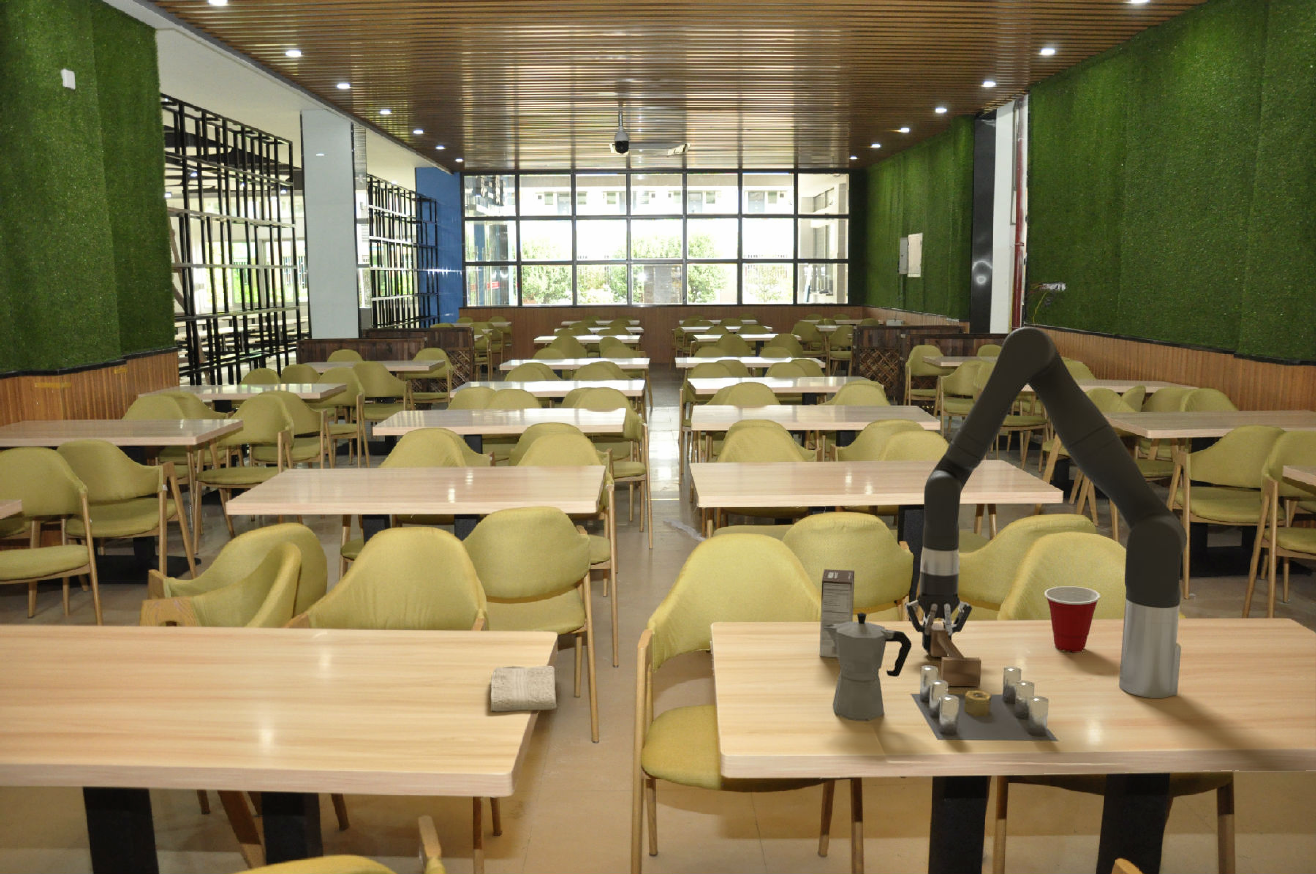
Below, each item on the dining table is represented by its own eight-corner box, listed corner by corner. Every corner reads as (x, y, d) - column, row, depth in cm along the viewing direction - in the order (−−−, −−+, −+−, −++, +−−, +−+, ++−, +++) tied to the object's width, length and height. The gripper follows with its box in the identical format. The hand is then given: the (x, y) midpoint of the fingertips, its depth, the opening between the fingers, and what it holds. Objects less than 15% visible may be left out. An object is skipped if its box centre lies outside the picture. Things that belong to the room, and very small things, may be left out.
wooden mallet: (949, 646, 225) (950, 623, 224) (980, 686, 203) (981, 660, 202) (915, 646, 225) (916, 623, 224) (942, 685, 203) (943, 660, 202)
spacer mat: (1019, 696, 200) (1019, 694, 200) (1058, 742, 180) (1058, 740, 180) (910, 695, 200) (910, 693, 200) (937, 741, 180) (937, 739, 180)
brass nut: (987, 707, 194) (987, 690, 194) (993, 716, 190) (994, 699, 190) (961, 706, 194) (962, 690, 194) (967, 715, 190) (968, 699, 190)
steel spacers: (1016, 697, 199) (1018, 666, 198) (1049, 736, 182) (1051, 702, 181) (917, 696, 199) (919, 665, 198) (941, 735, 182) (943, 701, 181)
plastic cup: (1030, 642, 230) (1033, 587, 229) (1072, 637, 234) (1076, 583, 232) (1063, 659, 220) (1067, 601, 218) (1107, 654, 223) (1111, 597, 222)
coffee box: (821, 642, 229) (823, 568, 227) (852, 644, 228) (854, 570, 225) (818, 656, 220) (821, 579, 218) (851, 659, 219) (853, 582, 217)
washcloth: (554, 676, 210) (554, 660, 209) (558, 713, 192) (558, 696, 192) (492, 678, 208) (491, 662, 208) (490, 715, 190) (490, 699, 190)
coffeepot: (814, 714, 191) (817, 615, 189) (829, 695, 200) (832, 601, 197) (902, 729, 185) (906, 627, 182) (913, 710, 193) (917, 612, 191)
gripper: (969, 564, 223) (965, 645, 225) (900, 564, 223) (897, 645, 225) (979, 574, 215) (975, 657, 218) (909, 573, 216) (905, 657, 218)
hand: (936, 650), depth 222 cm, fingers closed on wooden mallet, 3 cm apart
